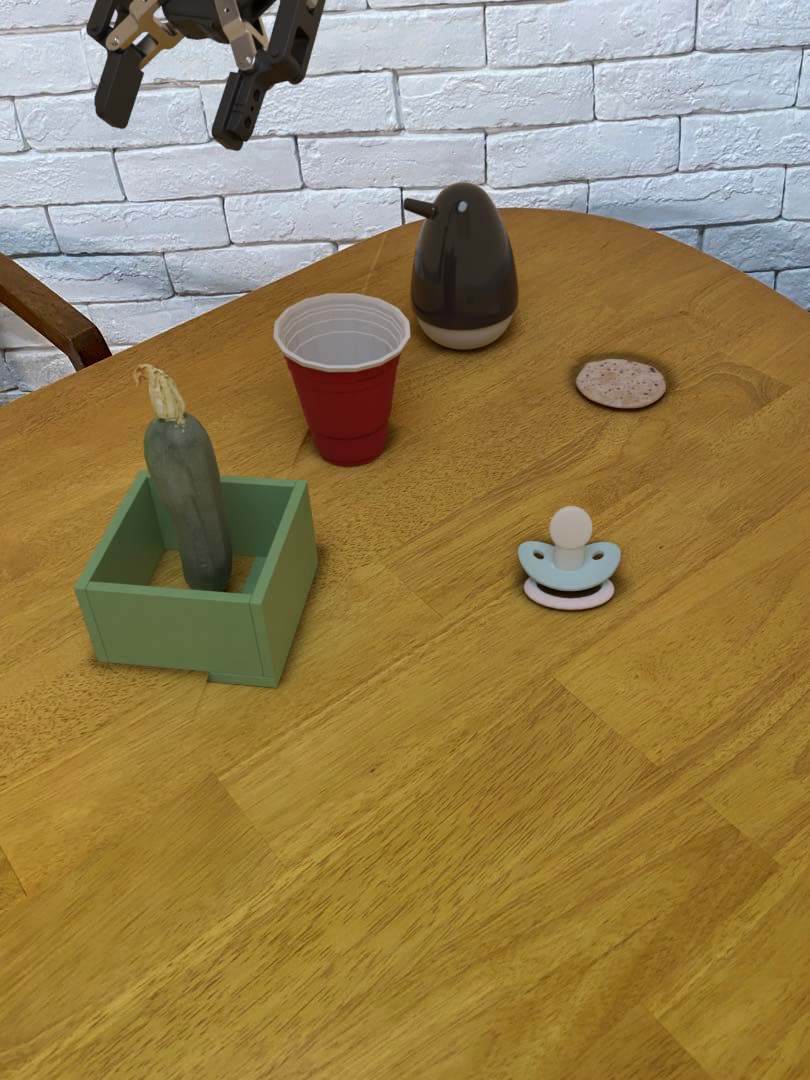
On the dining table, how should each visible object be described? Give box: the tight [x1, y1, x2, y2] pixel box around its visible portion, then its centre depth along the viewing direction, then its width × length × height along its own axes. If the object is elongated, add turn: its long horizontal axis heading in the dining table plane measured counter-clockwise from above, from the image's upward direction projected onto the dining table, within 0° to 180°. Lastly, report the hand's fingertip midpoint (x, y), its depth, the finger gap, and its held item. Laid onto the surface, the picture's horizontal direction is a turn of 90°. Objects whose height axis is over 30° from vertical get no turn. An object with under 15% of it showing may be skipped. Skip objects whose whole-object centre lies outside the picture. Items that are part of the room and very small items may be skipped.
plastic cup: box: [273, 292, 411, 468], centre depth 92 cm, size 11×11×12 cm
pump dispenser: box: [402, 181, 520, 350], centre depth 104 cm, size 10×10×15 cm
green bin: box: [73, 469, 319, 689], centre depth 79 cm, size 13×13×8 cm
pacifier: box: [517, 505, 622, 611], centre depth 80 cm, size 7×6×6 cm
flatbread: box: [575, 358, 667, 409], centre depth 100 cm, size 8×8×1 cm
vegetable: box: [131, 363, 234, 592], centre depth 75 cm, size 4×4×20 cm
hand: (165, 133), depth 65 cm, fingers open, 8 cm apart
